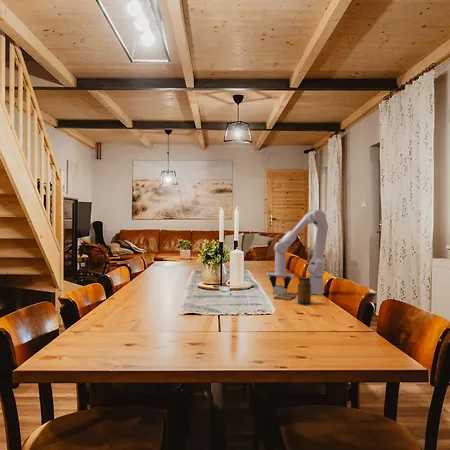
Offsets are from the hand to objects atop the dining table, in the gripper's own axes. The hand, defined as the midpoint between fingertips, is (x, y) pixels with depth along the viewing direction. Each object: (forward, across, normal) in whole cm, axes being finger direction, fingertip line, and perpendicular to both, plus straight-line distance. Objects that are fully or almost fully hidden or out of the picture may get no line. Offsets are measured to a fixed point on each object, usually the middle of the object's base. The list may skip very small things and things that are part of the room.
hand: (279, 291), depth 236 cm
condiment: (+2, +19, -19) cm, 27 cm away
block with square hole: (+1, 0, 0) cm, 1 cm away
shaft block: (+1, +6, -10) cm, 12 cm away
